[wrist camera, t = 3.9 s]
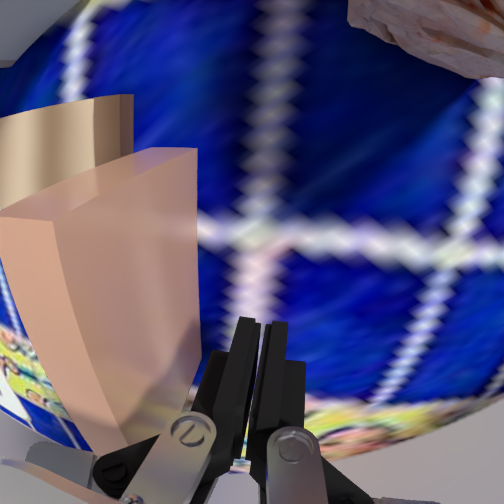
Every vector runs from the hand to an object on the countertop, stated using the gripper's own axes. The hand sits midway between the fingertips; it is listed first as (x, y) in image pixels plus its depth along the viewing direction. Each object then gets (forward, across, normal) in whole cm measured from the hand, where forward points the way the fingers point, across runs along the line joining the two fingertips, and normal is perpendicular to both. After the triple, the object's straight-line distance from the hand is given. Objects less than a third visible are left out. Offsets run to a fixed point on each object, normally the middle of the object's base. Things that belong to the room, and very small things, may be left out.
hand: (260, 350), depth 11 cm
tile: (+5, +5, 0) cm, 7 cm away
